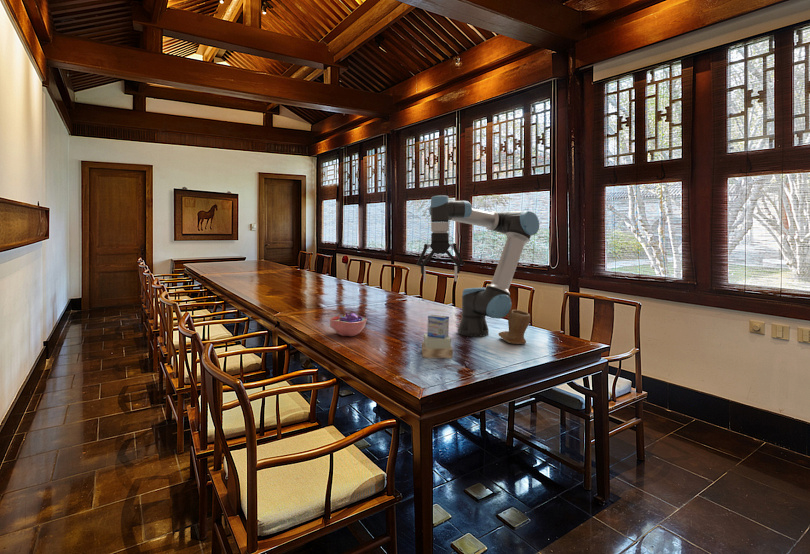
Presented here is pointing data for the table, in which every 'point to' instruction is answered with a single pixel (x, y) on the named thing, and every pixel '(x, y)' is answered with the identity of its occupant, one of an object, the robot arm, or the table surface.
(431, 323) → the medicine box
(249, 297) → the table surface
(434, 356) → the lower block
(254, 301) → the table surface
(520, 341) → the tan boot-shaped piece
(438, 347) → the upper block
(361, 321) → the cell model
